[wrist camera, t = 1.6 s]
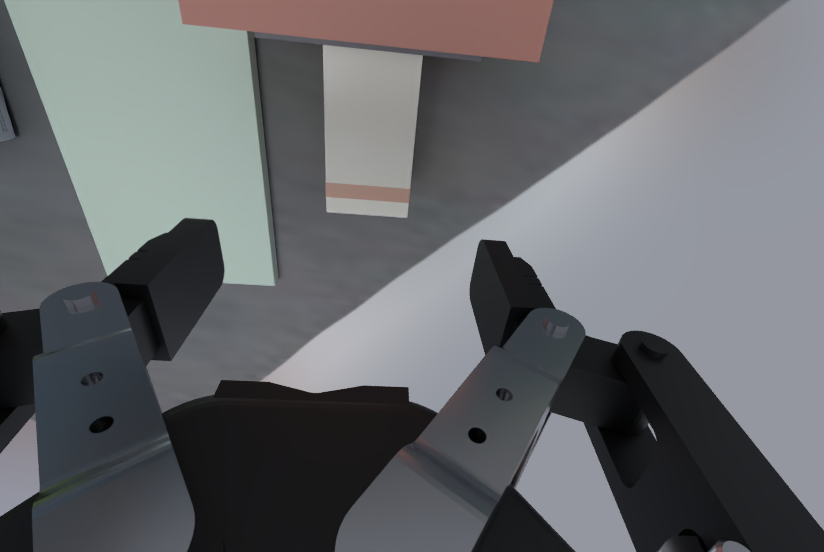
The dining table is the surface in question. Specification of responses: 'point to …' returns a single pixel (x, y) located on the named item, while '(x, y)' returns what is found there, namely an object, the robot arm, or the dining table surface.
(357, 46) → the salmon pink box
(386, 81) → the white pink-banded block
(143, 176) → the stub board
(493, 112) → the dining table surface
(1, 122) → the tea box
